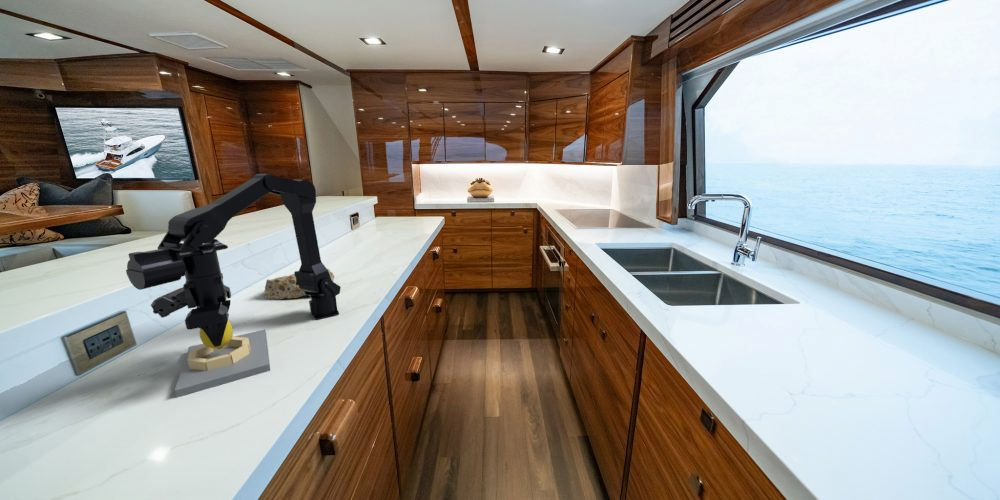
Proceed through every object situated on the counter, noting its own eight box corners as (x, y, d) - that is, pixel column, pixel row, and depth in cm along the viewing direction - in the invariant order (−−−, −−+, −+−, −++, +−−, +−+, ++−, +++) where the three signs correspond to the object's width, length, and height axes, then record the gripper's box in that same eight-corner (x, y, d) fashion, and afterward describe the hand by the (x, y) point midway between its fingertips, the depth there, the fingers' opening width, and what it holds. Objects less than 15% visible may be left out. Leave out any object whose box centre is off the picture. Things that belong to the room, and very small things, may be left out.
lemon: (218, 356, 72) (210, 322, 70) (197, 354, 73) (189, 320, 71) (242, 343, 77) (235, 311, 75) (222, 341, 78) (215, 309, 76)
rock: (260, 305, 110) (255, 275, 109) (283, 299, 124) (279, 272, 124) (325, 296, 112) (320, 266, 111) (341, 290, 126) (337, 264, 126)
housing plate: (266, 334, 88) (264, 322, 88) (270, 370, 73) (267, 355, 72) (190, 352, 80) (187, 339, 79) (176, 397, 64) (172, 381, 63)
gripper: (159, 269, 73) (176, 334, 77) (137, 295, 59) (159, 373, 63) (224, 261, 80) (237, 321, 84) (219, 282, 65) (234, 354, 69)
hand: (218, 340), depth 74 cm, fingers closed on lemon, 5 cm apart
